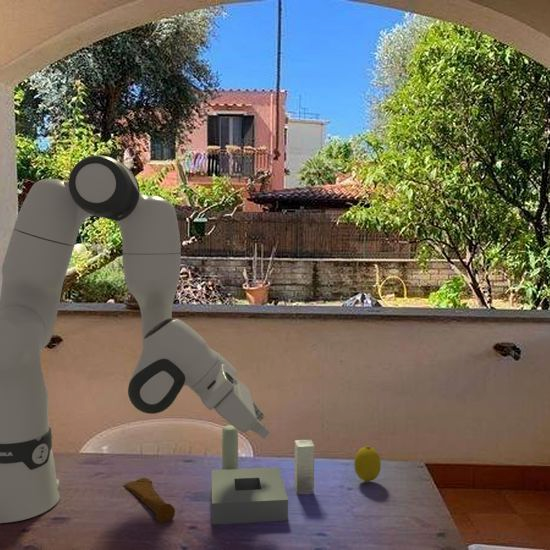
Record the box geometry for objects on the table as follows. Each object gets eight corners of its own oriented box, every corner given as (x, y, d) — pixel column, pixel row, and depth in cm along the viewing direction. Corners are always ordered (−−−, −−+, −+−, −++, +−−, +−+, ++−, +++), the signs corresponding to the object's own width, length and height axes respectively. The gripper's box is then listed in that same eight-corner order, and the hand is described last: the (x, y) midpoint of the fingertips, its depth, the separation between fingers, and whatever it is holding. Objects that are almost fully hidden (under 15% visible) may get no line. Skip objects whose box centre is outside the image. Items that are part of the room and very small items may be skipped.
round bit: (219, 473, 119) (219, 429, 118) (227, 467, 122) (227, 424, 122) (233, 476, 118) (233, 431, 117) (240, 470, 121) (240, 426, 120)
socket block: (211, 524, 98) (211, 503, 98) (211, 488, 112) (211, 469, 112) (287, 520, 100) (288, 499, 100) (278, 485, 114) (278, 467, 113)
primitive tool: (122, 486, 114) (122, 470, 113) (147, 480, 117) (147, 464, 116) (157, 528, 98) (157, 509, 98) (185, 519, 101) (185, 501, 101)
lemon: (383, 479, 117) (384, 444, 116) (375, 490, 112) (376, 453, 111) (358, 474, 119) (359, 439, 119) (350, 484, 114) (351, 448, 114)
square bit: (296, 494, 110) (297, 446, 109) (294, 486, 113) (294, 440, 113) (313, 493, 110) (314, 446, 109) (310, 485, 114) (311, 439, 113)
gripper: (204, 378, 118) (249, 419, 120) (203, 408, 98) (257, 457, 100) (225, 357, 118) (269, 399, 120) (228, 382, 98) (281, 432, 100)
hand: (264, 426), depth 110 cm, fingers open, 8 cm apart
